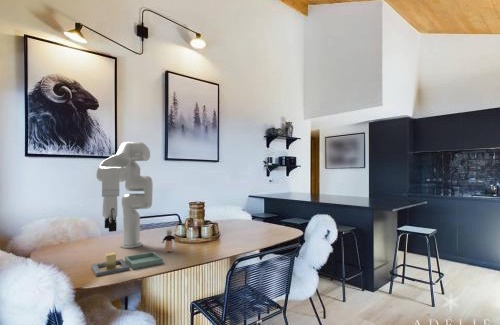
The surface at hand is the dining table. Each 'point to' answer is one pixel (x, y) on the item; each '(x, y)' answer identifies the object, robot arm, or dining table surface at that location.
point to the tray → (143, 260)
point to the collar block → (98, 273)
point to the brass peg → (110, 261)
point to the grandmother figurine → (168, 241)
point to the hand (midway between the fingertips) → (110, 229)
